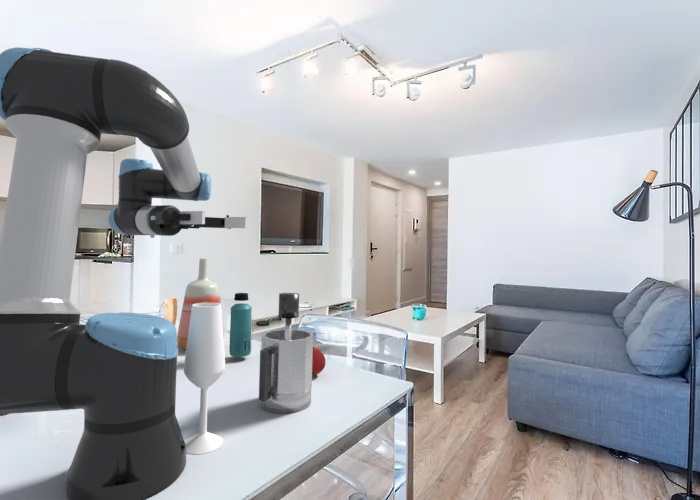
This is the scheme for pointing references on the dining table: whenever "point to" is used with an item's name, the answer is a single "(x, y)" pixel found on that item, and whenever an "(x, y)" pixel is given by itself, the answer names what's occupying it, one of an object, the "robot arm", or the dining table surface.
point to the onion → (317, 361)
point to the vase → (197, 300)
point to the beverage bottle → (240, 327)
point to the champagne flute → (204, 367)
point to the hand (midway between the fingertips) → (226, 220)
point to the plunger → (288, 310)
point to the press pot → (286, 371)
